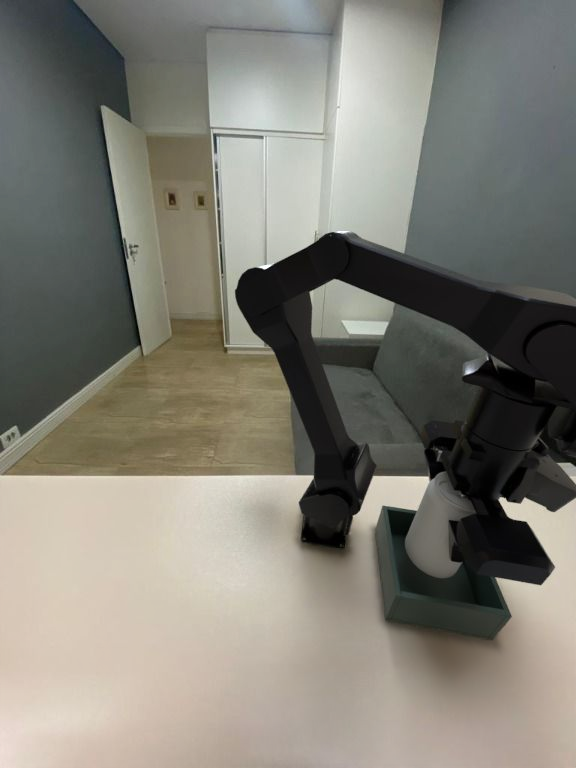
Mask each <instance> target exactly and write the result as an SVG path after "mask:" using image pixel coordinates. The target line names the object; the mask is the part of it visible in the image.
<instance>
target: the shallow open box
mask: <svg viewBox="0 0 576 768" xmlns="http://www.w3.org/2000/svg"><path fill="white" fill-rule="evenodd" d="M416 512H417V510H415V509H410V508H409V509H408V508H402V507H395V506H390V505H382V506H381V509H380V513H379V515H378V519H377V523H376V525H375V528H374V531H375V532H374V533H375V540H376V548H377V549H376V550H377V557H378V564H379V565H378V567H379V575H380V583H381V592H382V593H381V595H382V601H383V602H382V603H383V611H384V619H385V621H390V622H394V623H395V622H396V623H400V624H405V625H409V626H410V625H411V626H416V627H421V628H427V629H433V630H438V631H441V632H442V631H443V632H448V633H453V634H458V635H463V636H467V637H473V638H479V639H483V640H488V641H493V640H494V639H495V638H496V637H497V636H498V635H499V634H500V633H501V631H502V630H503V629H504V627H505V626H506V625H507V624H508V622H510V620H511V619H512V618H513V615H512V613H511V611H510V608H509V606H508V604H507V601H506V599H505V596H504V595H503V592H502V589H501V588H500V585H499V583H498V580H497V578H496V577H491V576H485V575H479V574H476V573H475V572H473V571H472V570H471V569H470V568H469V567H467V565H466V562H465V561H464V562H462V563H461V565H460V567H459V568H458V570H457V572H456V573H455V574H454V575H453V576H451V577H449V578H436V577H433V576H430V575H428V574H426V573H425V572H423V571H422V570H420V569H419V568H418V567H417V566H416V565H415V564H414V563H413V562H412V561H411V559H410V558H409V556H408V554H407V552H406V548H405V539H406V536H407V534H408V531H409V529H410V527H411V524H412V522H413V519H414V517H415V515H416Z"/></svg>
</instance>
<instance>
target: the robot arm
mask: <svg viewBox="0 0 576 768" xmlns="http://www.w3.org/2000/svg"><path fill="white" fill-rule="evenodd" d="M334 280H335V281H336V280H338V281H340V282H343V283H345V284H347V285H350V286H352V287H355V288H357V289H360V290H362V291H364V292H367V293H369V294H372V295H374V296H376V297H379V298H382V299H384V300H386V301H389V302H391V303H394V304H396V305H398V306H401V307H404V308H406V309H408V310H411V311H413V312H415V313H418V314H420V315H422V316H426V317H428V318H430V319H433V320H436V321H438V322H440V323H443V324H445V325H448V326H450V327H452V328H454V329H456V330H457V331H459V332H460V333H462V334H464V335H465V336H466V337H468V338H469V339H470V340H472V341H473V342H474V343H475V344H476V345H478V346H479V347H480V348H481V349H483V351H485V354H483V355H482V356H481V357H478V358H474V359H472V360H468V361H465V362H463V364H462V369H461V381H462V382H463V383H465V384H468V385H473V386H476V387H478V389H477V391H476V394H475V396H474V398H473V400H472V402H471V405H470V408H469V410H468V411H467V414H466V417H465V419H464V421H463V420H459V419H455V420H454V422H449V421H442V420H441V421H440V420H431V421H429V422H426V423H425V424H423V426H422V429H421V432H420V435H419V438H420V440H421V442H422V443H421V444H422V446H423V448H424V450H423V455H424V458H425V463H426V464H425V465H426V469H427V475H428V481H429V482H430V481H431V480H432V479H434V478H435V477H436V475H437V474H439V473H441V472H445V471H446V472H447V475H448V477H449V479H450V482H451V484H452V487H453V489H454V490H457V491H459V493H460V495H461V497H463V498H468V499H470V500H471V502H472V504H473V507H474V509H475V511H476V513H477V514H472V515H469V516H466V517H463V518H461V519H460V521H454V520H449V521H448V529H449V555H450V560H451V561H452V562H458V563H461V562H464V561H465V562H466V565H467V567H469V568H470V569H471V570H472V571H473V572H475V573H476V574H479V575H485V576H491V577H495V578H496V579H501V580H502V579H503V580H508V581H514V582H520V583H524V584H531V585H535V586H542V585H543V584H544V583H545V582H546V581H547V580H548V578H549V577H550V576H551V575H552V573H553V571H554V570H555V568H556V565H555V564H554V562H553V561H552V559H551V557H550V556H549V554H548V552H547V551H546V549H545V547H544V546H543V544H542V543H541V541H540V539H539V538H538V535H536V533H535V531H534V530H533V528H532V527H531V526H530V524H529V523H528V521H525V520H519V519H513V518H512V517H510V516H508V514H507V512H506V511H505V509H504V507H503V505H502V503H501V501H500V499H501V498H504V499H505V500H506V502H507V503H513V504H520V505H521V504H522V503H523V502H524V499H527V500H528V501H530V502H533V503H535V504H538V505H540V506H542V507H545V509H546V510H547V511H549V512H550V513H556V512H557V511H559V510H561V509H562V508H563V507H564V506H566V505H568V504H569V503H571V502H573V500H575V499H576V482H575V481H574V480H573V479H572V477H570V476H569V474H568V473H567V472H566V471H565V470H564V469H563V468H562V466H560V464H559V463H557V462H556V461H555V460H553V458H552V457H551V456H550V455H549V454H548V452H549V446H548V445H547V444H546V442H544V441H543V440H542V438H540V435H541V434H542V432H543V431H544V429H545V427H546V425H547V435H548V437H549V438H550V439H552V440H556V447H557V450H558V451H559V452H560V453H561V454H563V455H567V456H569V457H572V458H576V298H574V296H571V295H570V294H567V293H565V292H560V291H556V290H552V289H551V290H550V289H545V288H538V287H533V286H526V285H520V284H512V283H503V282H502V283H501V282H492V281H485V280H480V279H477V278H474V277H470V276H469V275H468V276H467V275H465V274H462V273H459V272H456V271H455V270H454V271H453V270H451V269H448V268H445V267H443V266H440V265H437V264H435V263H431V262H428V261H426V260H423V259H420V258H418V257H414V256H412V255H410V254H406V253H403V252H401V251H398V250H395V249H392V248H389V247H387V246H384V245H381V244H380V243H379V244H378V243H375V242H373V241H370V240H367V239H365V238H362V237H361V236H359V235H358V234H357V233H356V232H353V231H349V230H340V231H338V230H337V231H330V232H327V233H324V234H323V235H321V236H320V237H319V239H317V240H315V241H314V242H312V243H311V244H309V245H307V246H306V247H304V248H302V249H300V250H298V251H296V252H294V253H293V254H291V255H288V256H287V257H284V258H282V259H281V260H278V261H277V262H273V263H269V264H265V265H259V266H254V267H251V268H247V269H246V270H245V271H243V272H242V273H241V275H240V277H239V278H238V279H237V284H236V288H235V290H234V297H235V302H236V305H237V307H238V309H239V311H240V313H241V314H242V316H243V318H244V319H245V321H246V324H247V325H248V327H249V328H250V330H251V332H252V333H253V334H254V335H255V336H256V337H258V338H259V339H260V340H261V341H262V342H263V343H265V345H267V346H268V347H269V348H270V349H271V350H272V352H273V353H274V356H275V358H276V361H277V363H278V366H279V368H280V371H281V373H282V375H283V378H284V381H285V383H286V385H287V388H288V390H289V393H290V395H291V398H292V401H293V403H294V406H295V408H296V411H297V413H298V415H299V418H300V421H301V423H302V425H303V428H304V430H305V433H306V436H307V438H308V441H309V443H310V446H311V448H312V451H313V456H314V457H313V478H312V480H311V481H310V483H309V485H308V487H307V488H306V489H305V491H304V492H303V495H302V496H301V498H300V500H299V501H298V506H299V510H300V512H301V514H302V515H303V516H302V523H301V532H300V542H301V543H303V544H308V545H314V546H320V547H325V548H332V549H337V550H344V549H345V548H346V544H347V541H346V539H347V538H346V537H348V536H350V532H351V528H352V524H353V520H354V516H356V515H357V514H358V513H360V511H361V509H362V506H363V504H364V501H365V499H366V496H367V494H368V491H369V489H370V486H371V484H372V481H373V479H374V475H375V471H376V470H377V467H378V465H377V464H376V463H375V461H374V460H373V458H372V455H371V451H370V445H369V444H368V443H367V442H365V443H360V444H358V443H357V442H356V441H354V440H353V439H352V438H351V437H350V436H349V435H348V431H347V429H346V426H345V423H344V421H343V418H342V415H341V411H340V410H339V407H338V404H337V402H336V399H335V396H334V393H333V391H332V388H331V385H330V382H329V379H328V376H327V373H326V371H325V368H324V365H323V363H322V360H321V358H320V354H319V352H318V349H317V347H316V344H315V340H314V338H313V333H312V326H313V325H312V324H313V323H312V322H313V303H312V298H311V292H312V291H315V290H316V289H319V288H320V287H323V286H324V285H326V284H328V283H330V282H332V281H334ZM495 359H496V360H495ZM497 360H498V361H500V362H501V363H503V364H500V363H498V362H497ZM547 382H548V383H547ZM429 482H428V483H429Z"/></svg>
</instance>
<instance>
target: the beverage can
mask: <svg viewBox="0 0 576 768" xmlns="http://www.w3.org/2000/svg"><path fill="white" fill-rule="evenodd" d="M416 511H417V512H416V515H415V517H414V519H413V522H412V524H411V527H410V529H409V531H408V534H407V536H406V539H405V548H406V552H407V554H408V556H409V558H410V559H411V561H412V562H413V563H414V564H415V565H416V566H417V567H418V568H419V569H420V570H422V571H423V572H425V573H426V574H428V575H430V576H433V577H436V578H449V577H451V576H453V575H454V574H455V573H456V572H457V570H458V568H459V567H460V565H461V563H462V562H461V563H458V562H452V561H451V560H450V555H449V529H448V521H449V520H454V521H460V519H461V518H463V517H466V516H469V515H472V514H477V513H476V511H475V509H474V507H473V504H472V502H471V500H470V499H468V498H463V497H461V495H460V493H459V491H457V490H454V489H453V487H452V484H451V482H450V479H449V477H448V475H447V472H446V471H445V472H441V473H439V474H437V475H436V477H435V478H434V479H432V480H431V481H430V482H428V484H427V486H426V488H425V491H424V493H423V496H422V498H421V500H420V502H419V505H418V508H417V510H416Z"/></svg>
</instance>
